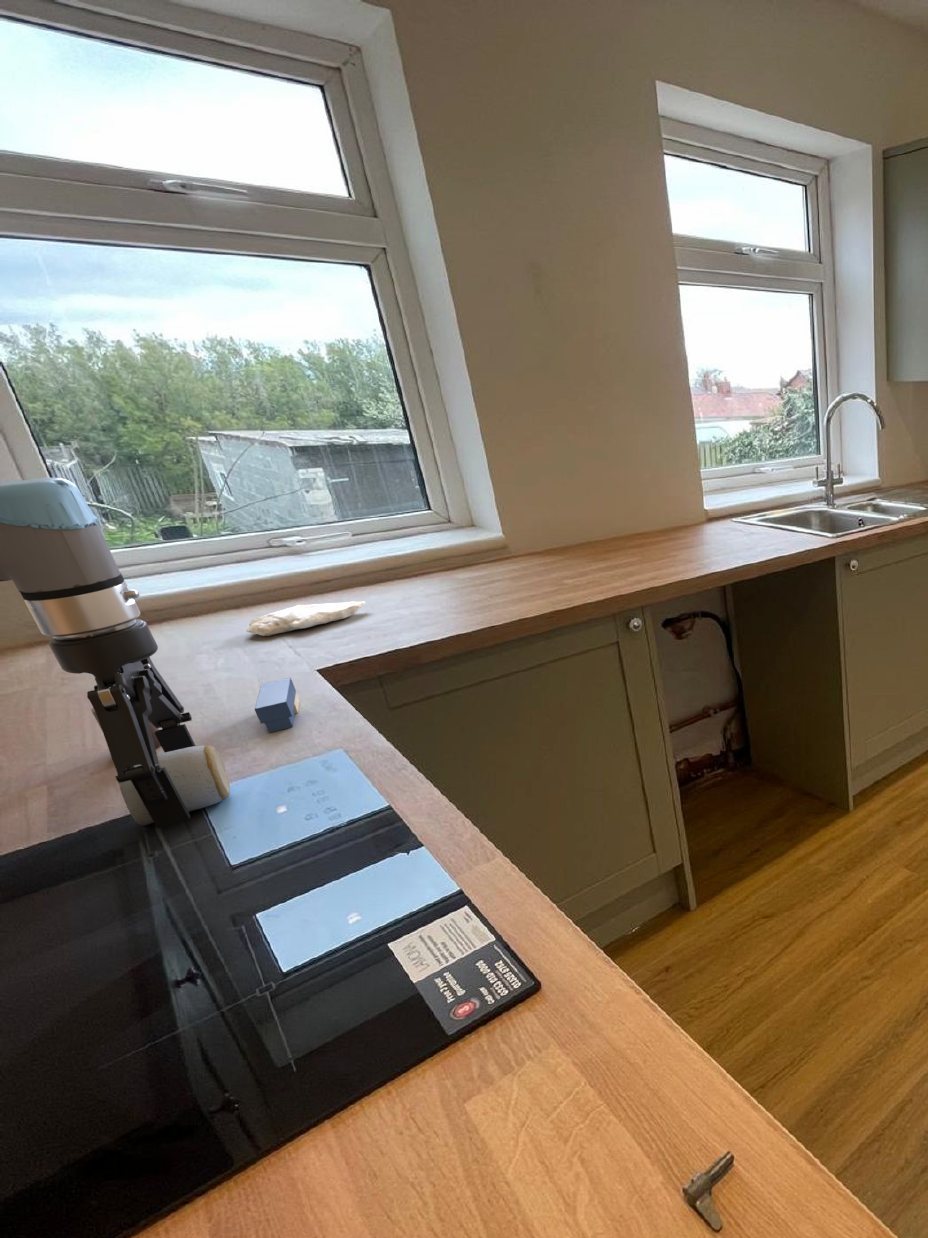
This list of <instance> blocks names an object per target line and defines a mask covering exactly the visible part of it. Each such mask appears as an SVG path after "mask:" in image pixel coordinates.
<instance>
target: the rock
mask: <svg viewBox="0 0 928 1238" xmlns="http://www.w3.org/2000/svg"><path fill="white" fill-rule="evenodd" d="M365 604H366V601H363V600H361V601H353V600H352V601H351V600H350V601H345V602H344V601H343V602H327V603H312V604H296V605H294V606H291V607H287V608H284V609H281V610H277V611H273V612H270V613H267V614H264V615H261V616H259V617H257V618H254V619H253V620H251V621H250V622H249V623H248V627H247V628H246V632H247V633H250V634H254V635H259V636H263V637H268V636H269V637H270V636H273V635H278V634H283V633H288V632H292V631H295V630H303V629H308V628H312V627H315V626H318V625H323V624H324V625H325V624H327V623H328V624H329V623H331V622H335V621H340V620H343V619H347V618H349V617H351V616H353V615H355V614H356V613H357V612H358V611H359V610H360V609H361V607H363V606H364V605H365Z"/></svg>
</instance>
